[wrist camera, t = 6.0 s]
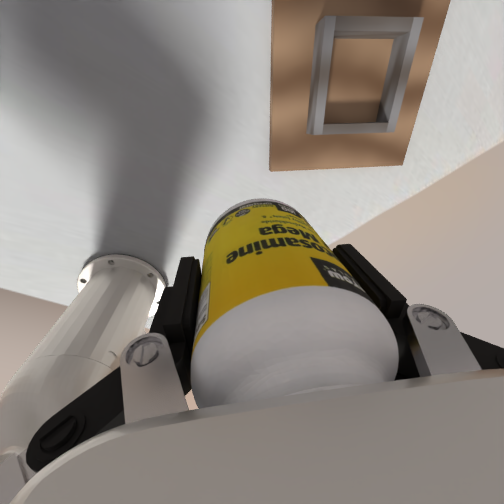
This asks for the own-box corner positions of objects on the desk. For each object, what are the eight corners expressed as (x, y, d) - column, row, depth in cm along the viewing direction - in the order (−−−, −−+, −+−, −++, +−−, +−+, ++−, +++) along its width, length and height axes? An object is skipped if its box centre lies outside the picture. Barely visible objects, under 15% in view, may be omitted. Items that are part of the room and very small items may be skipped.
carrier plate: (396, 163, 32) (415, 168, 29) (269, 169, 31) (275, 175, 27) (449, -27, 23) (486, -49, 20) (272, -33, 21) (281, -59, 18)
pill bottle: (323, 204, 13) (606, 443, 4) (291, 290, 16) (399, 547, 6) (211, 185, 12) (180, 480, 2) (199, 282, 15) (164, 589, 5)
